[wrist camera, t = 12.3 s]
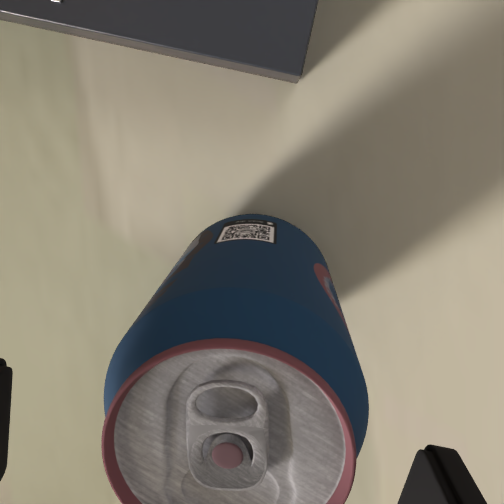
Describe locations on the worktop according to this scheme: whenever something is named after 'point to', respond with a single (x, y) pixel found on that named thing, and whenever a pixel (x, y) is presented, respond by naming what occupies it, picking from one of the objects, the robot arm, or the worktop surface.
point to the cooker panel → (186, 29)
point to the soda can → (237, 378)
